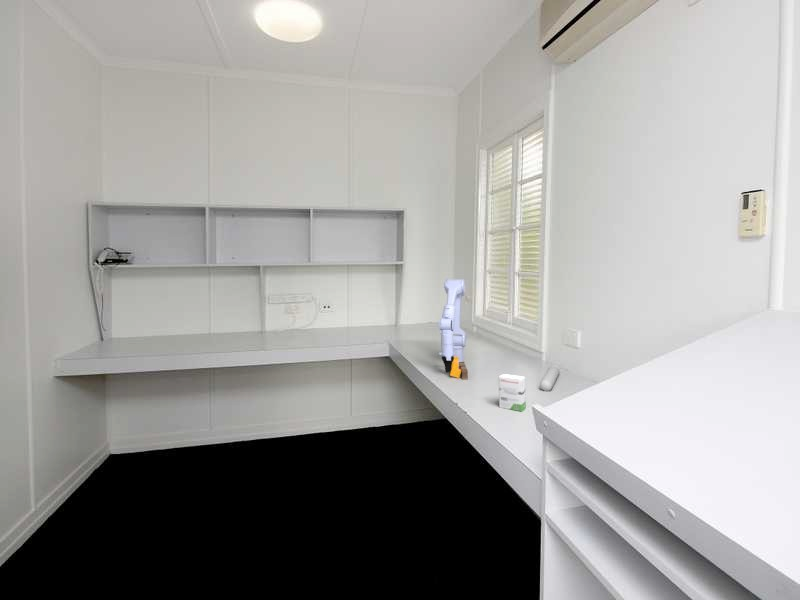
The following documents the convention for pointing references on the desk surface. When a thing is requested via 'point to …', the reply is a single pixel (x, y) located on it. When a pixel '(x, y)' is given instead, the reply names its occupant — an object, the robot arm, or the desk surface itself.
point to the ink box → (512, 392)
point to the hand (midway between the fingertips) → (448, 371)
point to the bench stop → (463, 370)
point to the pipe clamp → (455, 368)
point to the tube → (550, 378)
